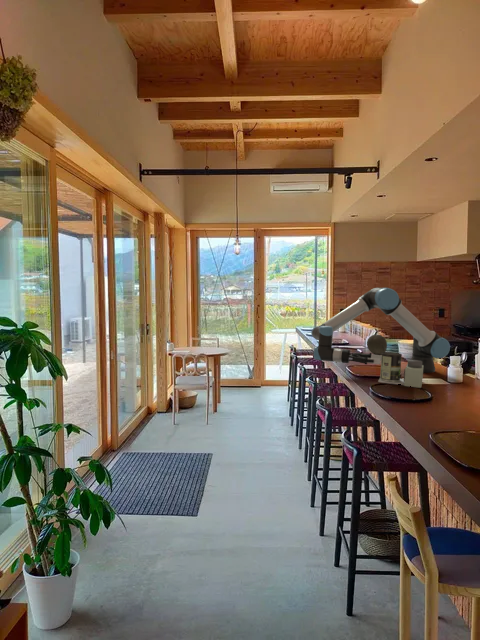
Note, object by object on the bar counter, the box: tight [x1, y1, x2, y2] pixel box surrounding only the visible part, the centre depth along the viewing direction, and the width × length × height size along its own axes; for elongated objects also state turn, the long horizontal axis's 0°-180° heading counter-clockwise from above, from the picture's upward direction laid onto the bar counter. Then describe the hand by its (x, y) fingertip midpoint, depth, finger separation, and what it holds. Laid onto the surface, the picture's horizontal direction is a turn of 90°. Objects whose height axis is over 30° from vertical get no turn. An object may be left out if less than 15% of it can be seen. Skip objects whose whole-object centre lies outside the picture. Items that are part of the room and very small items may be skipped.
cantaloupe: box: [366, 334, 388, 355], centre depth 325 cm, size 14×14×15 cm
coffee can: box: [379, 351, 402, 382], centre depth 237 cm, size 10×10×14 cm
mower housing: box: [377, 359, 424, 389], centre depth 235 cm, size 21×16×12 cm
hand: (382, 359), depth 238 cm, fingers open, 13 cm apart
